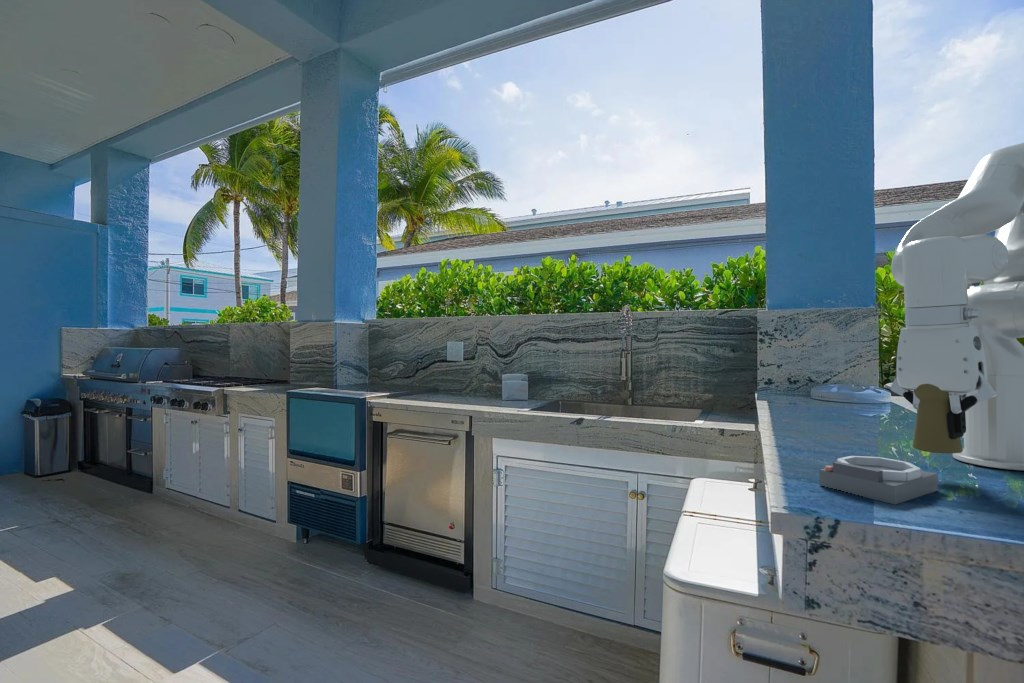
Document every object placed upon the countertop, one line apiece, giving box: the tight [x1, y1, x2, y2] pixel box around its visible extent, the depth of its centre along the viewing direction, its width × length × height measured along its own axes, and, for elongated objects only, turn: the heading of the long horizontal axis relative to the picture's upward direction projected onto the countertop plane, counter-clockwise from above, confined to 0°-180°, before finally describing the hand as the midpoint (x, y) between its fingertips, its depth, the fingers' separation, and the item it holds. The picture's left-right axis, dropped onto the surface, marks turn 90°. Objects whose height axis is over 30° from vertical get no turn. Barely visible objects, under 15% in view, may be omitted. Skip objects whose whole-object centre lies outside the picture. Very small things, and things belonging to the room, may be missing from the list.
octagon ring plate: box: [819, 455, 939, 505], centre depth 74 cm, size 12×10×4 cm
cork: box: [912, 384, 963, 455], centre depth 78 cm, size 6×6×11 cm
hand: (941, 434), depth 77 cm, fingers closed on cork, 2 cm apart
